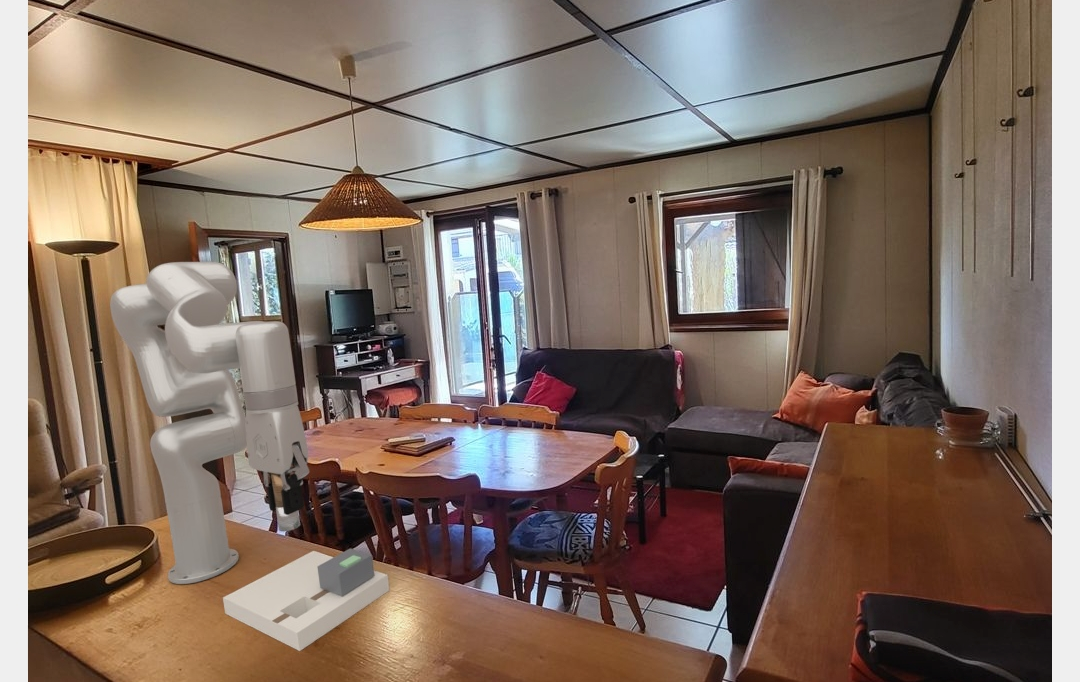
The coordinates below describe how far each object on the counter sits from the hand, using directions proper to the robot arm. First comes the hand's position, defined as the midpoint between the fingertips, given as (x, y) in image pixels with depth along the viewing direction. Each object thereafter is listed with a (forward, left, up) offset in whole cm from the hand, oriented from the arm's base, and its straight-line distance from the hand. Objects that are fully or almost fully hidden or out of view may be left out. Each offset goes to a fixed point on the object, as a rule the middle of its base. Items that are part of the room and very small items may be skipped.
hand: (287, 508), depth 88 cm
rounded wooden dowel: (0, 0, -3) cm, 3 cm away
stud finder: (+1, +9, -17) cm, 19 cm away
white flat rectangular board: (-5, +5, -20) cm, 21 cm away
